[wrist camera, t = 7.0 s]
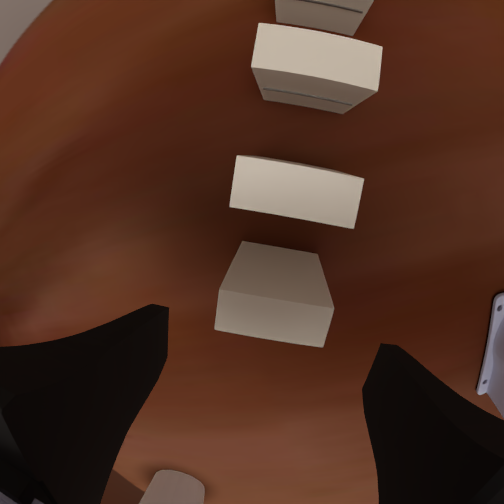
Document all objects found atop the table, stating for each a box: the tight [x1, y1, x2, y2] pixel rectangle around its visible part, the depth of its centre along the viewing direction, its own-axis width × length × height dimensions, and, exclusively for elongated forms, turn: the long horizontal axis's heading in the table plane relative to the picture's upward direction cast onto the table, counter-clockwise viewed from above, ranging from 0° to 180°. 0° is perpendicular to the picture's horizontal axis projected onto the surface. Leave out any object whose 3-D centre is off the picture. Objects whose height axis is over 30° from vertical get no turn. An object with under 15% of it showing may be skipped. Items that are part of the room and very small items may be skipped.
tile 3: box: [229, 155, 364, 229], centre depth 14 cm, size 2×4×7 cm, turn 81°
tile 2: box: [251, 23, 382, 114], centre depth 13 cm, size 2×4×7 cm, turn 81°
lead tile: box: [214, 241, 334, 347], centre depth 16 cm, size 2×4×7 cm, turn 81°
